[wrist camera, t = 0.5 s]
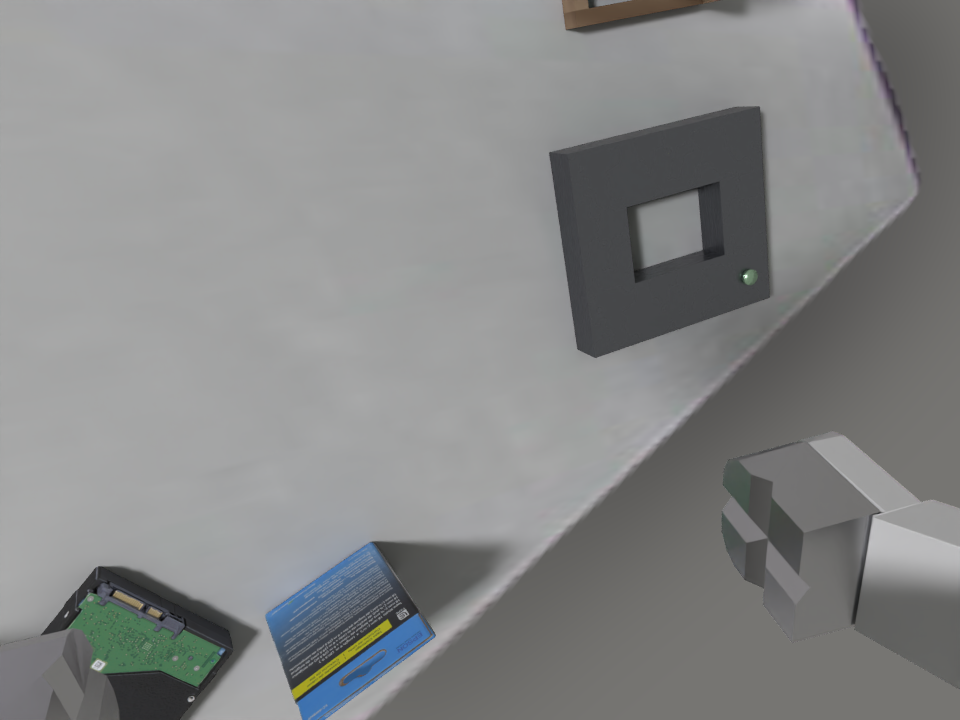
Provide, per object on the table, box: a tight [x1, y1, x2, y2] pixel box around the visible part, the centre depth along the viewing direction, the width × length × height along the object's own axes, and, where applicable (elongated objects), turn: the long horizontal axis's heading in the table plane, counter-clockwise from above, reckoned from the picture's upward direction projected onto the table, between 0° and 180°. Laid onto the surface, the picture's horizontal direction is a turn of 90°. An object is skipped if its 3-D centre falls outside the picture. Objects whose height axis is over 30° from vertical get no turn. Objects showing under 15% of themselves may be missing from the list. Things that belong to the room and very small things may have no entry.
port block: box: [549, 106, 770, 358], centre depth 60 cm, size 14×16×3 cm
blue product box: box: [265, 542, 436, 720], centre depth 52 cm, size 9×4×12 cm, turn 117°
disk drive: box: [41, 566, 233, 720], centre depth 52 cm, size 10×3×15 cm
